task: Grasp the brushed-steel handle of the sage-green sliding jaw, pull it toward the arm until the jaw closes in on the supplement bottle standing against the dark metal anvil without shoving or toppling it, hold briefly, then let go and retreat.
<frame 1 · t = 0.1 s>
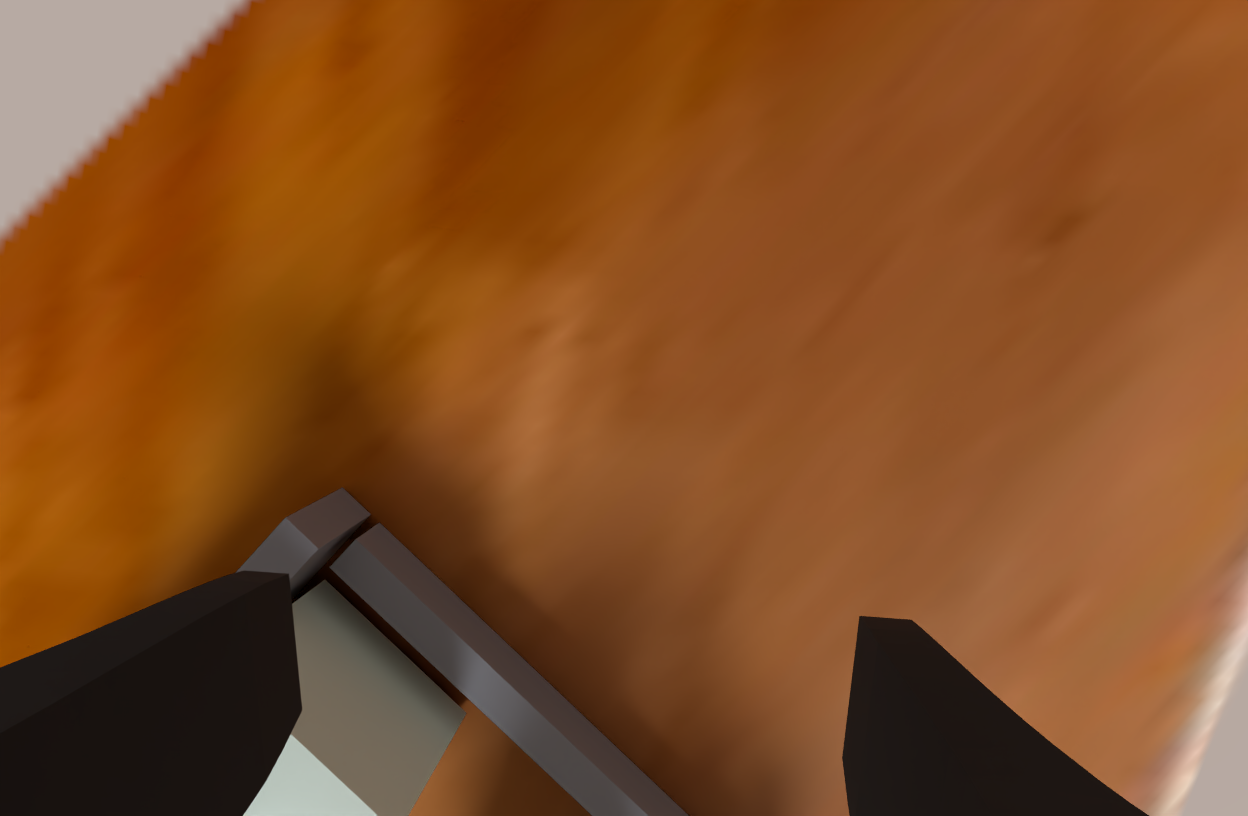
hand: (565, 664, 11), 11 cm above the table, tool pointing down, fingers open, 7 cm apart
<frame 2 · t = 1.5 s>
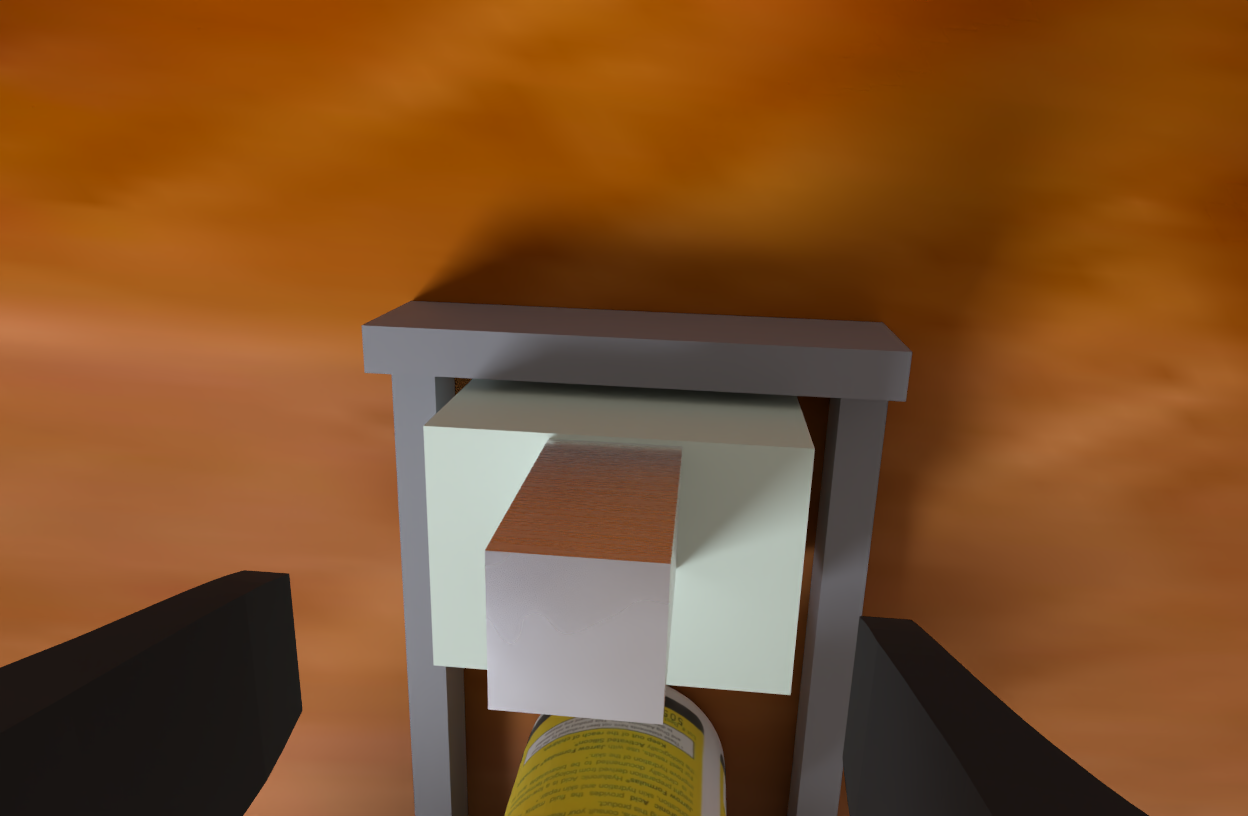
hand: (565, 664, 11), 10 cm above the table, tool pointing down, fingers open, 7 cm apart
supplement bottle: (626, 748, 24), resting in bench
jaw: (613, 558, 16), point 5 cm above the table, slide at 0.0 cm
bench: (628, 675, 23), on the table
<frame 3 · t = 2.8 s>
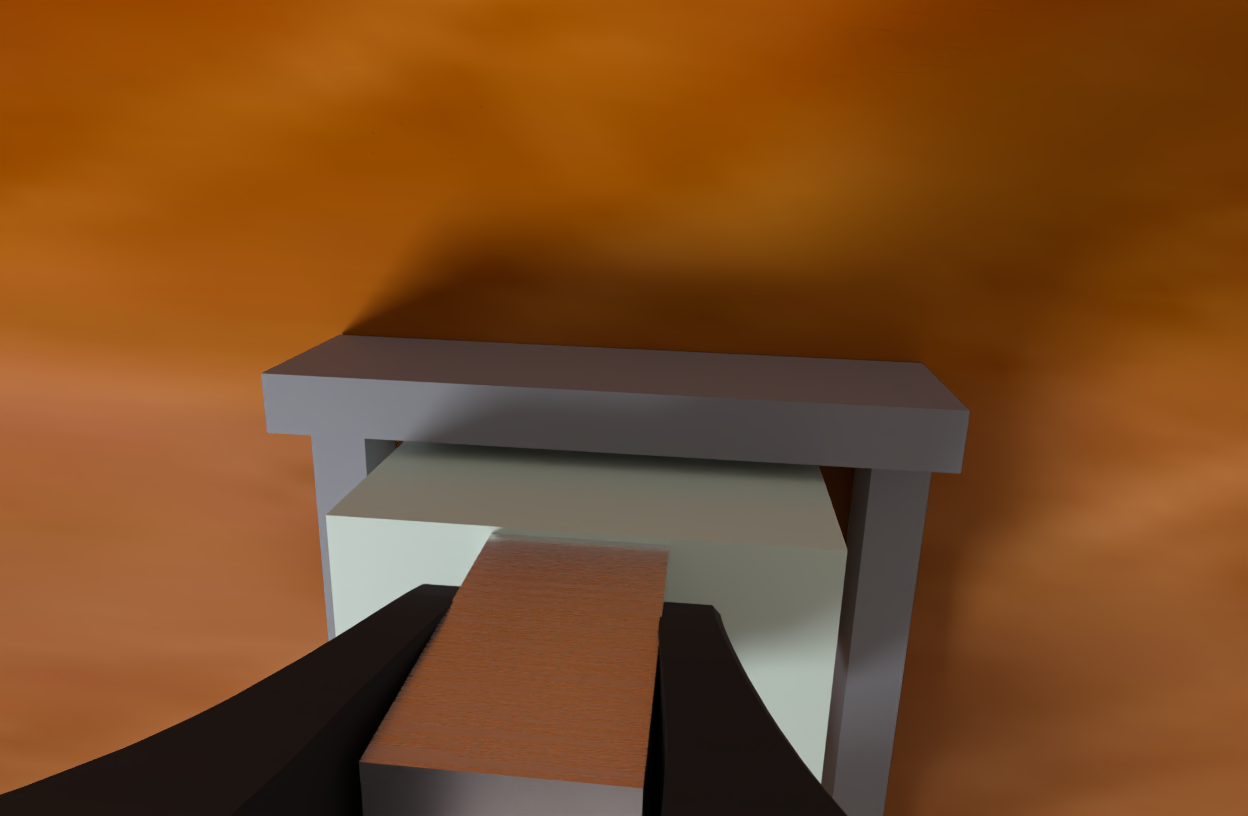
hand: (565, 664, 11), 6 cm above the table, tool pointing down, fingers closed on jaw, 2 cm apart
jaw: (580, 683, 12), point 5 cm above the table, slide at 0.0 cm, touching gripper
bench: (610, 780, 19), on the table
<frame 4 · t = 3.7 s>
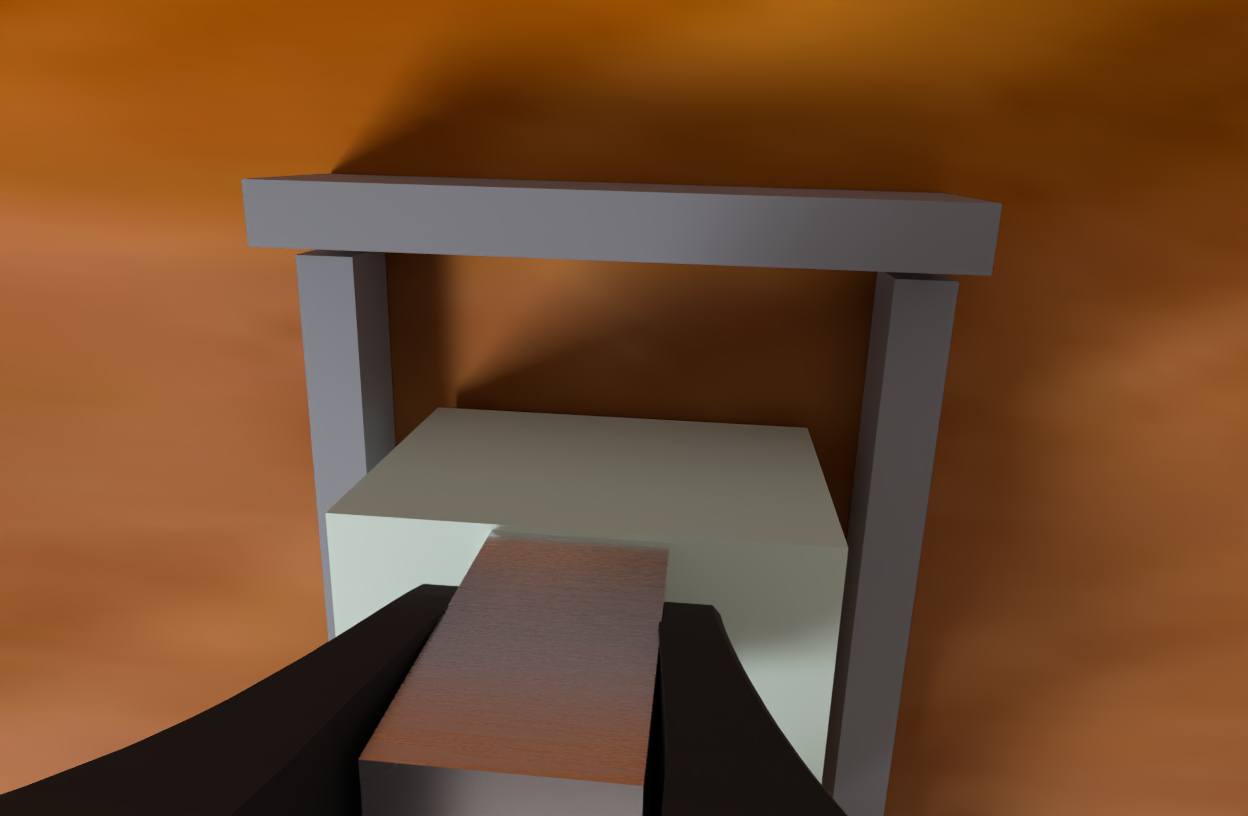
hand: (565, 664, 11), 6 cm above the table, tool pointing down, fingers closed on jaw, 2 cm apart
jaw: (580, 681, 12), point 5 cm above the table, slide at 3.0 cm, touching gripper
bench: (614, 663, 18), on the table
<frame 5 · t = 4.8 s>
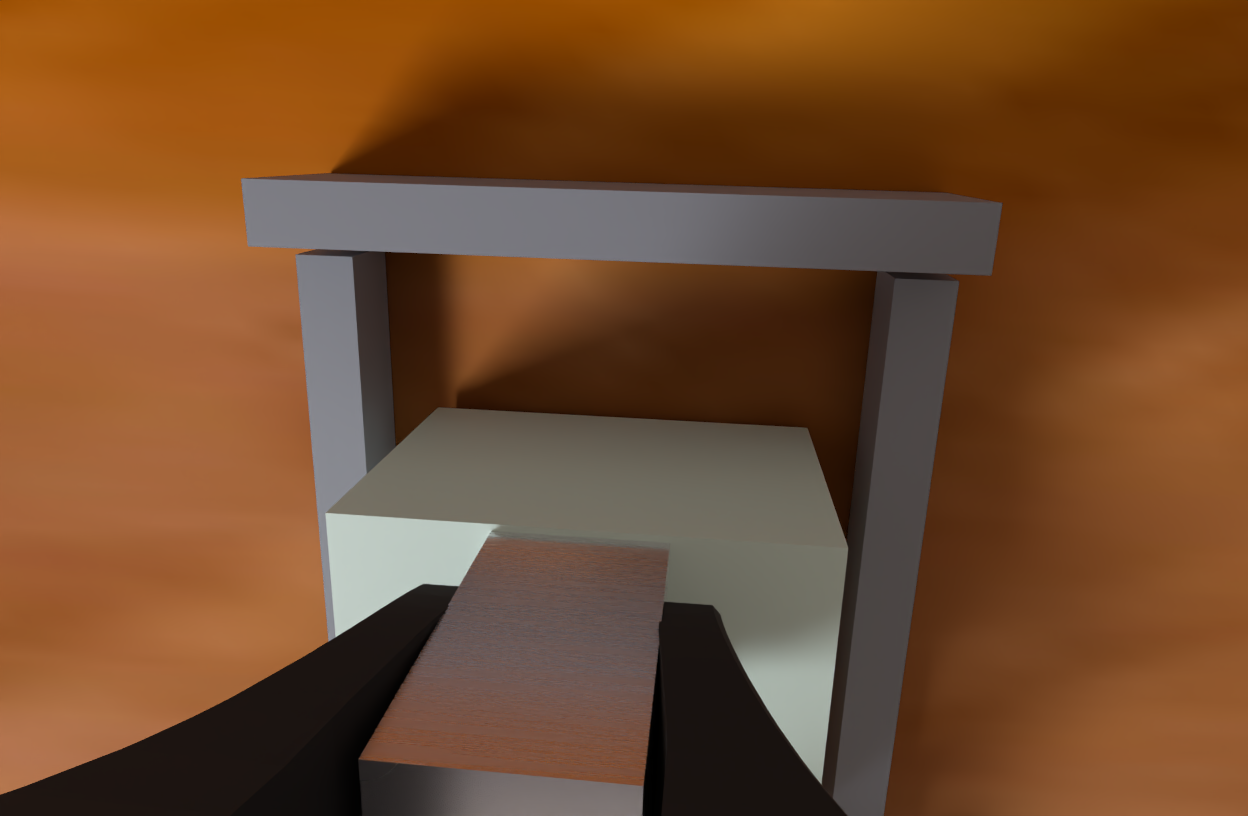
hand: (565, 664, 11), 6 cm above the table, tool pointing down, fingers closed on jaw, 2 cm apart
jaw: (580, 681, 12), point 5 cm above the table, slide at 3.0 cm, touching gripper
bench: (614, 662, 18), on the table
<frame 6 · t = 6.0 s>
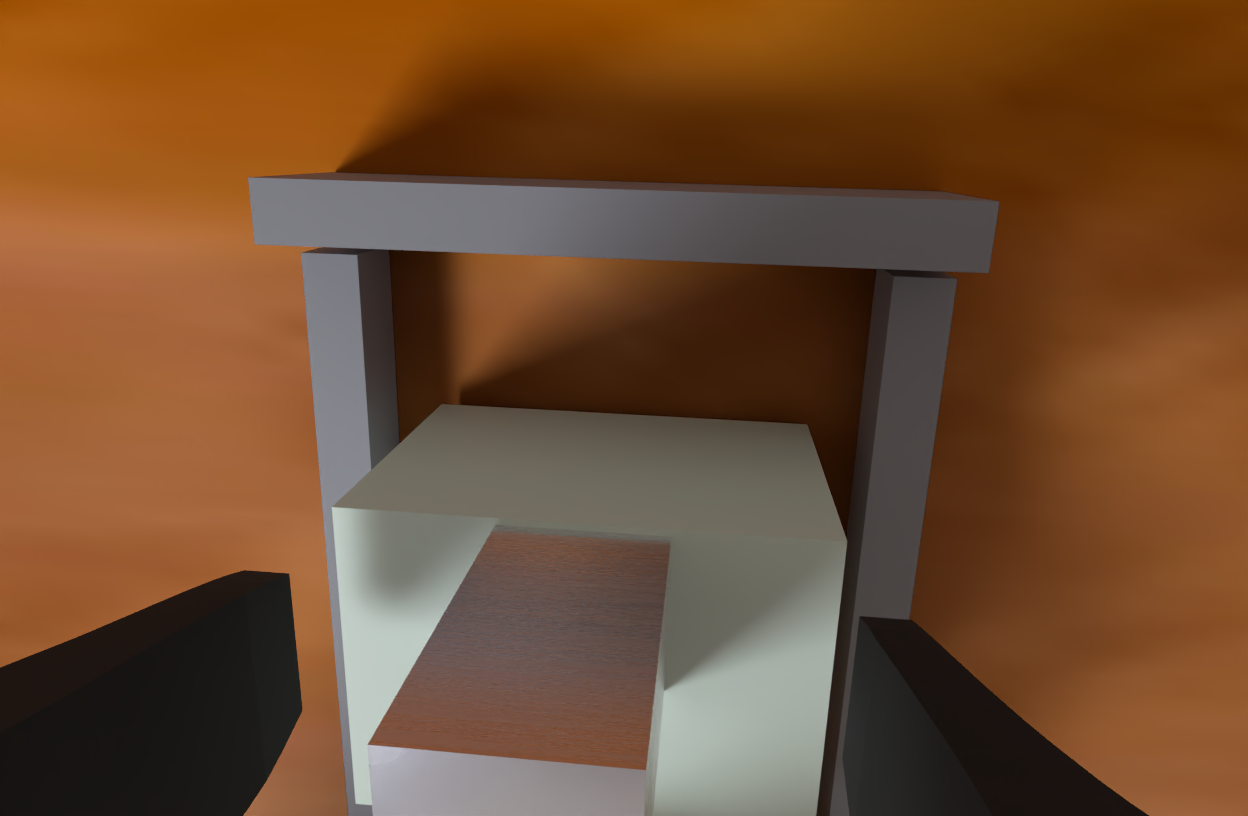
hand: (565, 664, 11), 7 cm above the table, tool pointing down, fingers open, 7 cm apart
jaw: (583, 673, 12), point 5 cm above the table, slide at 3.0 cm
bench: (615, 657, 18), on the table
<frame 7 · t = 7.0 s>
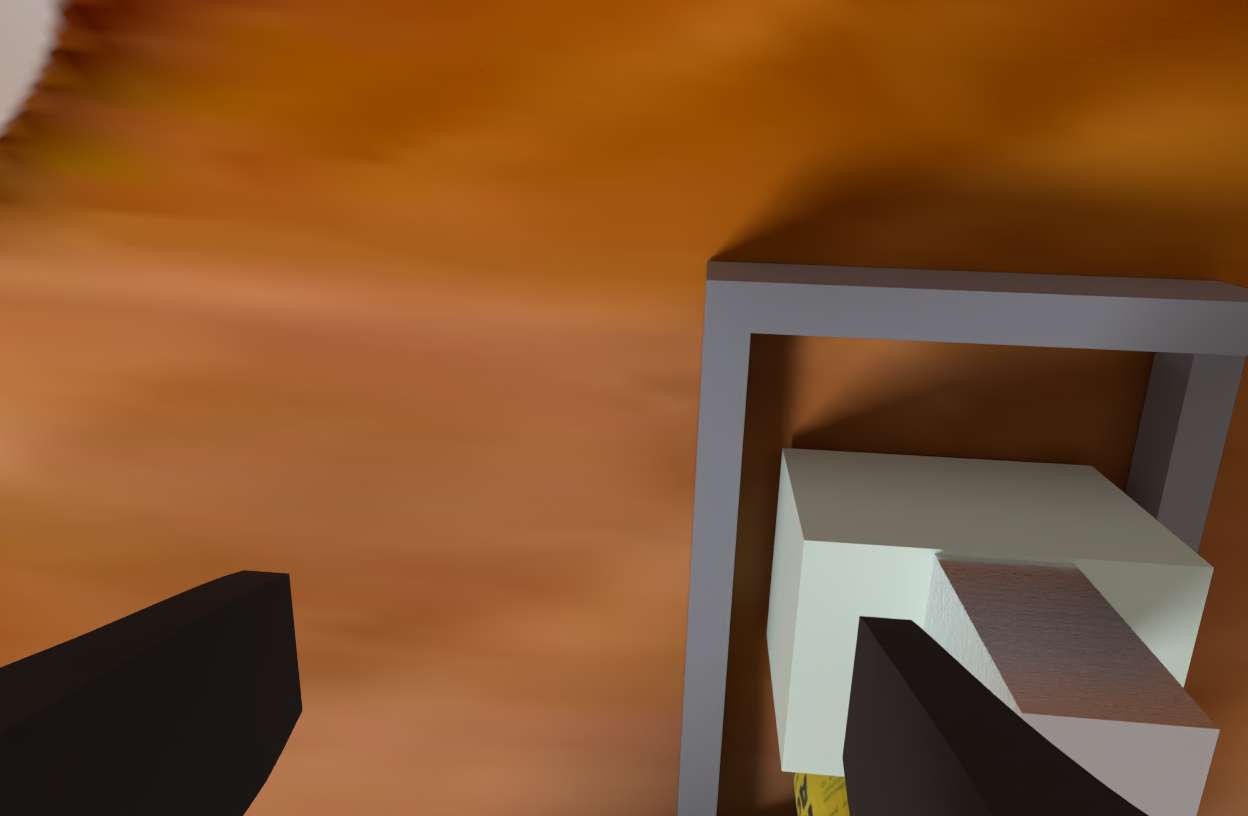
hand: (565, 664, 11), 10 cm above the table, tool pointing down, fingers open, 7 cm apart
supplement bottle: (889, 733, 23), resting in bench
jaw: (979, 668, 16), point 5 cm above the table, slide at 3.0 cm
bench: (902, 656, 22), on the table
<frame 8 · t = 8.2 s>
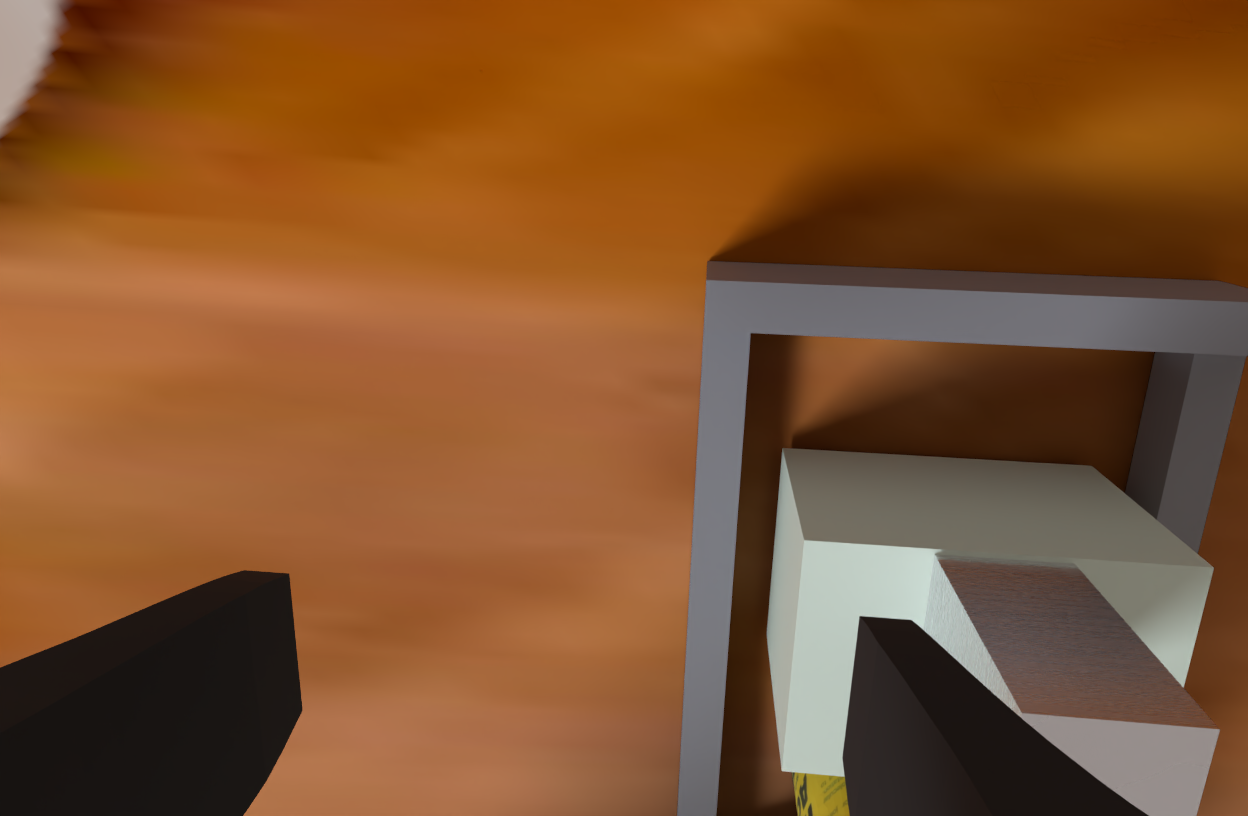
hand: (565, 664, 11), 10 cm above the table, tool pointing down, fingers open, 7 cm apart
supplement bottle: (889, 733, 23), resting in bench
jaw: (979, 668, 16), point 5 cm above the table, slide at 3.0 cm
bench: (902, 656, 22), on the table
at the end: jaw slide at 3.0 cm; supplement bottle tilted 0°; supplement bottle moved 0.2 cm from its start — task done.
